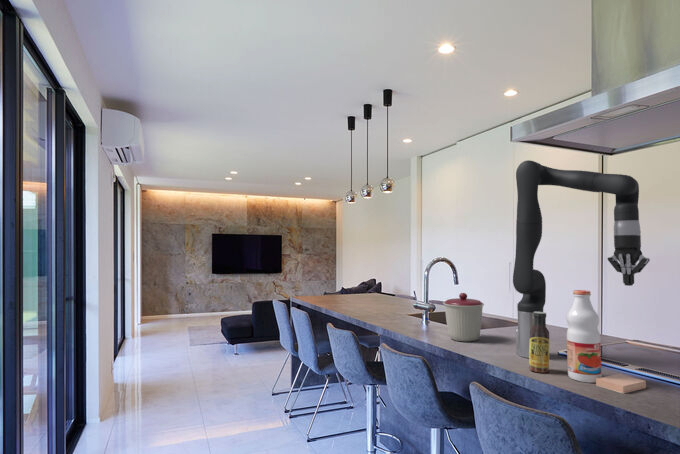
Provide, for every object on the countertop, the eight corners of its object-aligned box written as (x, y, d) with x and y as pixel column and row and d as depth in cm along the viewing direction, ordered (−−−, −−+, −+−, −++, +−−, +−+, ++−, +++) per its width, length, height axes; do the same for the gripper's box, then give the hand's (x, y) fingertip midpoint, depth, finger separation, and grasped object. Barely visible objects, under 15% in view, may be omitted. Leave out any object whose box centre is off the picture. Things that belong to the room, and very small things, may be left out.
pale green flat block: (618, 381, 134) (596, 386, 129) (618, 373, 134) (596, 378, 129) (646, 389, 126) (623, 395, 122) (645, 381, 126) (623, 386, 122)
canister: (490, 338, 194) (489, 292, 195) (475, 346, 180) (474, 296, 181) (453, 333, 205) (452, 290, 206) (436, 340, 191) (436, 293, 192)
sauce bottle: (529, 372, 142) (528, 313, 143) (528, 367, 148) (527, 310, 149) (551, 374, 140) (549, 314, 141) (549, 369, 146) (547, 311, 146)
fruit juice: (583, 372, 141) (580, 288, 143) (609, 381, 132) (605, 291, 134) (561, 375, 139) (558, 289, 140) (585, 384, 130) (582, 292, 131)
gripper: (600, 234, 148) (602, 284, 147) (641, 233, 136) (643, 287, 135) (613, 234, 151) (615, 283, 151) (654, 233, 139) (656, 286, 139)
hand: (628, 285), depth 143 cm, fingers closed
